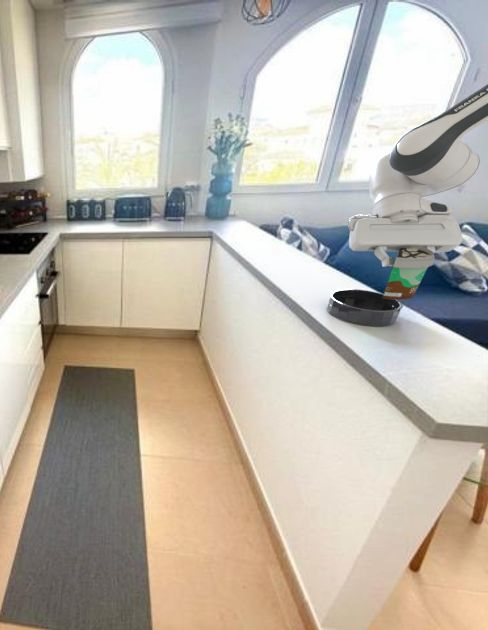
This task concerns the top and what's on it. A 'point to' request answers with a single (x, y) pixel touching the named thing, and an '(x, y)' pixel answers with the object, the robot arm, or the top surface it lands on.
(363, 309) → the pan
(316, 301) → the top surface
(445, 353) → the top surface
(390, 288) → the food container
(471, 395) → the top surface
